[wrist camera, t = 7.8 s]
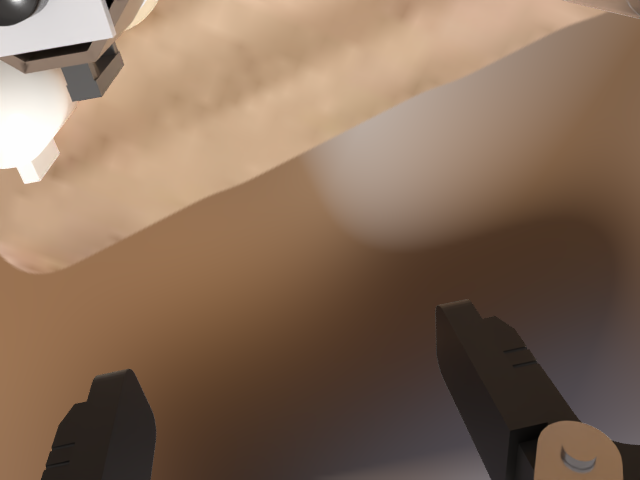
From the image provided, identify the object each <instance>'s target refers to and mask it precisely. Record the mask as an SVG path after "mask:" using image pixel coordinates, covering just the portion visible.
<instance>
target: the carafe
mask: <svg viewBox="0 0 640 480" xmlns="http://www.w3.org/2000/svg"><path fill="white" fill-rule="evenodd" d="M157 2H158V0H49V1H48V3H47V5H46V6H45V7H44V8H43V10H41V11H40V12H39V13H37V14H36V15H34V16H32V17H30V18H28V19H26V20H24V21H22V22H20V23H17V24H15V25H11V26H0V60H1V61H3V62H5V63H7V64H8V65H10V66H12V67H14V68H15V69H17V70H19V71H21V72H22V73H24V74H27V73H33V72H39V71H45V70H50V69H56V68H61V70H62V72H63V75H64V77H65V80H66V82H67V85H66V87H67V89H68V92H69V94H70V97H71V99H72V102H75V101H81V100H86V99H92V98H98V97H102V96H103V94H104V93H105V91H106V90H107V89H108V87H109V86H110V84H111V83H112V81H113V80H114V79H115V77H116V76H117V74H118V73H119V71H120V70H121V69H122V67H123V66H124V63H123V60H122V57H121V54H120V51H118V49H117V46H116V43H115V40H116V39H117V38H118V37H119V36H120V35H121V34H122V33H123V31H125V30H128V29H130V28H132V27H134V26H135V25H137V24H139V23H140V22H141V21H142V20H144V19H145V18H146V17H147V16H148V14H149V13H150V12H151V11H152V10H153V8H154V7H155V5H156V4H157Z"/></svg>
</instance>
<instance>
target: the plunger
mask: <svg viewBox="0 0 640 480" xmlns="http://www.w3.org/2000/svg"><path fill="white" fill-rule="evenodd" d="M48 1H49V0H0V26H11V25H15V24H17V23H20V22H22V21H24V20H26V19H28V18H30V17H32V16H34V15H36V14H37V13H39V12H40V11H41V10H43V8H44V7H45V6H46V5H47V3H48Z"/></svg>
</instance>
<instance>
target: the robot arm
mask: <svg viewBox="0 0 640 480" xmlns="http://www.w3.org/2000/svg"><path fill="white" fill-rule="evenodd" d="M563 1H567V2H571V3H575V4H579V5H584V6H588V7H592V8H596V9H601V10H605V11H609V12H613V13H618V14H622V15H626V16H630V17H635V18H639V19H640V0H563ZM436 354H437V360H438V364H439V368H440V372H441V374H442V377H443V379H444V381H445V383H446V386H447V388H448V390H449V392H450V394H451V396H452V398H453V400H454V402H455V405H456V407H457V408H458V411H459V413H460V415H461V417H462V419H463V421H464V423H465V425H466V427H467V430H468V432H469V434H470V436H471V438H472V440H473V442H474V444H475V447H476V449H477V451H478V453H479V455H480V457H481V459H482V461H483V463H484V465H485V468H486V470H487V472H488V474H489V476H490V478H491V480H640V445H630V444H623V443H619V442H614V441H612V440H611V439H610V438H609V437H607V436H606V435H605V434H604V433H602V432H601V431H600V430H598V429H596V428H594V427H592V426H590V425H587V424H584V423H582V422H581V421H580V420H579V419H578V418H577V416H576V415H575V414H574V412H573V411H572V410H571V408H570V407H569V405H568V404H567V403H566V401H565V400H564V399H563V397H562V395H561V394H560V393H559V391H558V390H557V388H556V387H555V386H554V384H553V383H552V381H551V380H550V378H549V377H548V376H547V374H546V373H545V371H544V370H543V369H542V367H541V366H540V364H537V361H536V359H535V357H534V356H533V354H532V353H531V352H530V350H527V346H526V345H525V343H524V342H523V340H522V339H521V337H520V336H519V335H518V333H517V332H516V330H515V329H514V328H512V327H511V326H509V325H508V324H506V323H505V322H503V321H502V320H500V319H499V318H497V317H496V316H494V317H489V318H484V319H482V318H481V316H480V315H479V313H478V312H477V310H476V309H475V307H474V305H473V304H472V303H471V301H470V300H468V299H467V300H461V301H457V302H452V303H447V304H442V305H438V306H437V307H436ZM155 443H156V425H155V419H154V415H153V412H152V410H151V408H150V405H149V403H148V401H147V399H146V397H145V395H144V393H143V391H142V388H141V386H140V384H139V382H138V380H137V377H136V376H135V373H134V372H133V371H132V370H131V369H126V370H121V371H117V372H112V373H107V374H102V375H98V376H96V377H95V378H94V380H93V382H92V385H91V389H90V393H89V396H88V399H87V402H83V403H78V404H75V405H74V406H73V407H72V408H71V410H70V411H69V413H68V414H67V415H66V416H65V418H64V419H63V420H62V422H61V423H60V424H59V427H58V429H57V432H56V435H55V439H54V442H53V445H52V451H51V452H50V454H49V457H48V460H47V463H46V470H44V472H43V475H42V478H41V480H150V479H151V472H152V465H153V457H154V450H155Z"/></svg>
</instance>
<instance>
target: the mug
mask: <svg viewBox="0 0 640 480" xmlns="http://www.w3.org/2000/svg"><path fill="white" fill-rule="evenodd" d="M66 85H67V82H66V80H65V77H64V75H63V72H62V70H61V68H56V69H50V70H45V71H39V72H33V73H27V74H24V73H22V72H21V71H19V70H17V69H15V68H14V67H12V66H10V65H8V64H7V63H5V62H3V61H1V60H0V169H7V168H14V167H17V169H18V171H19V173H20V175H21V177H22V179H23V181H24V183H25V184H27V183H32V182H37V181H41V179H42V178H43V177H44V175H45V174H46V172H47V171H48V170H49V168H50V167H51V165H52V164H53V162H54V161H55V160H56V158H57V157H58V155H59V154H60V153H59V150H58V148H57V146H56V144H55V141H54V139H53V137H54V136H55V135H56V133H57V132H58V131H59V130H60V128H61V127H62V126H63V124H64V123H65V122H66V121H67V119H68V118H69V117H70V116H71V114H72V113H73V112H74V110H75V109H76V107H77V105H78V103H79V101H75V102H72V99H71V97H70V94H69V92H68V89H67V87H66Z"/></svg>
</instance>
